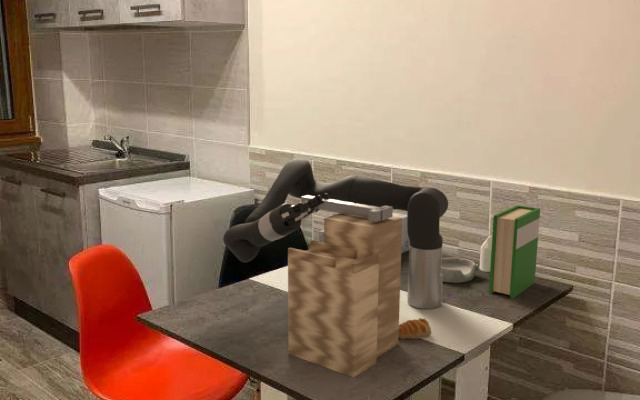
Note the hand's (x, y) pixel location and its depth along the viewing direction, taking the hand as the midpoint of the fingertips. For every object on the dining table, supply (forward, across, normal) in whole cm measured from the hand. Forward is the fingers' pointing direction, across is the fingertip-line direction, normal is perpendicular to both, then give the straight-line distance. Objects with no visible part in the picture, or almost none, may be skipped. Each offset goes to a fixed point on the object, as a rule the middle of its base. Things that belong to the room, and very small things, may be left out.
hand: (324, 197), depth 159 cm
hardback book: (+3, -63, -43) cm, 76 cm away
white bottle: (-8, -75, -36) cm, 84 cm away
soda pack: (-42, -59, -17) cm, 74 cm away
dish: (-14, -61, -34) cm, 71 cm away
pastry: (-2, -14, -40) cm, 42 cm away
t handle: (+3, 0, -5) cm, 6 cm away
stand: (-9, +5, -36) cm, 37 cm away
